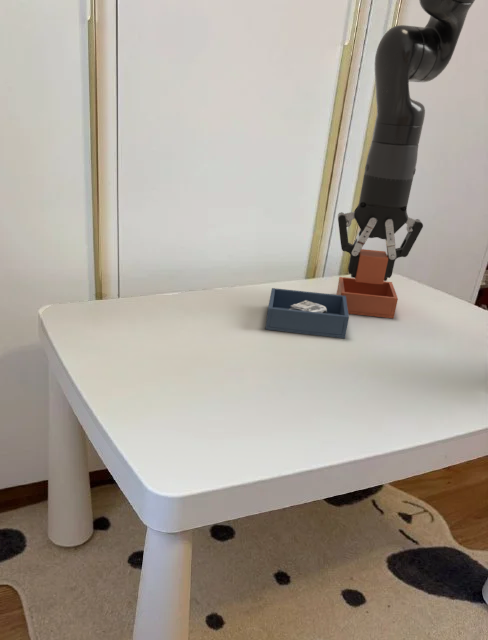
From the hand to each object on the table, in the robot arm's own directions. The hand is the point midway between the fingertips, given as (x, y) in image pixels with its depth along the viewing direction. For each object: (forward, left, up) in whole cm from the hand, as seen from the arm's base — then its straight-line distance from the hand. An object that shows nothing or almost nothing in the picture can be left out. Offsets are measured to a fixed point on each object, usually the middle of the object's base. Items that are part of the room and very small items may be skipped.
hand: (368, 277), depth 108 cm
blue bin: (+10, +11, -5) cm, 16 cm away
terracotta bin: (0, 0, -5) cm, 5 cm away
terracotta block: (0, 0, 0) cm, 0 cm away
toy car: (+10, +11, -5) cm, 15 cm away
